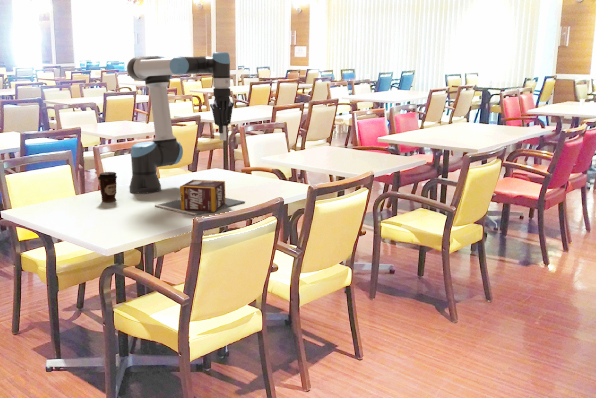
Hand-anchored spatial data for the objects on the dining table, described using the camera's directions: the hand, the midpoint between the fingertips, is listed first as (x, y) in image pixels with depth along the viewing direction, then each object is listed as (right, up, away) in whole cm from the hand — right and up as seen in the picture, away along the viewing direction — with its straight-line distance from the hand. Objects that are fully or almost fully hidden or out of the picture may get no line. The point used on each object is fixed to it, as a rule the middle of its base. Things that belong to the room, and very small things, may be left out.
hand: (223, 140), depth 293 cm
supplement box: (-5, -23, -6) cm, 25 cm away
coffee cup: (-52, -28, +2) cm, 59 cm away
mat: (-9, -29, -6) cm, 31 cm away
